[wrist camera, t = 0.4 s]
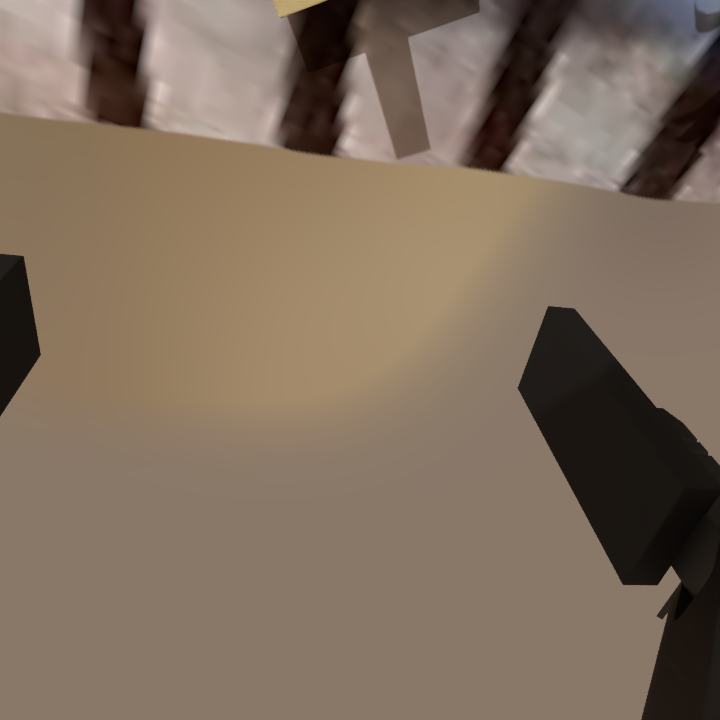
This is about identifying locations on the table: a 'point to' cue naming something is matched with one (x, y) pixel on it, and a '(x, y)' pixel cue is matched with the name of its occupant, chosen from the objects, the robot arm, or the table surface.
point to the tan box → (293, 6)
